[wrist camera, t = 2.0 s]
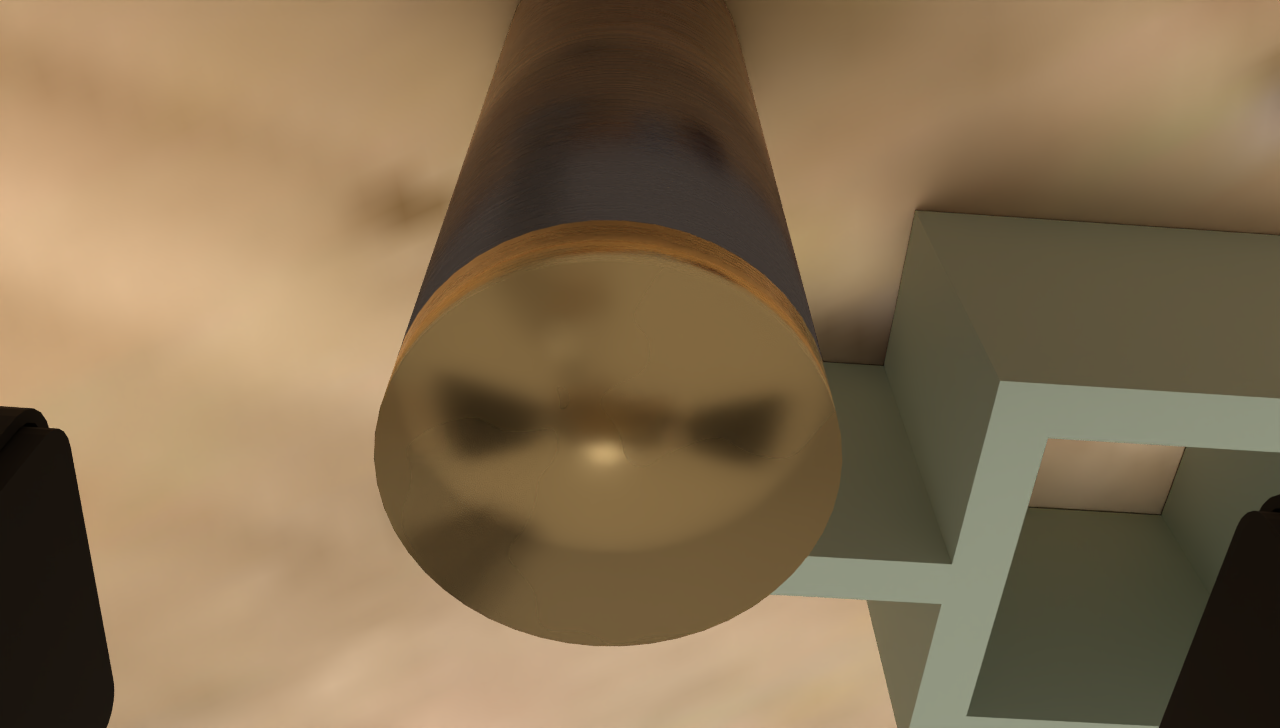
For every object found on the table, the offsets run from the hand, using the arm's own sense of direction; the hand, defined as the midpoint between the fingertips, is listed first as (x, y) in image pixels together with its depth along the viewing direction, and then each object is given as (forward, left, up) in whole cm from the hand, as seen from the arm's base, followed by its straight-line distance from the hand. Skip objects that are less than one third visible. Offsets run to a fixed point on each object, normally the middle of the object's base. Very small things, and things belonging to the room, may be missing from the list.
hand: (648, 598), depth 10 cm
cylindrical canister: (-1, 0, -13) cm, 13 cm away
